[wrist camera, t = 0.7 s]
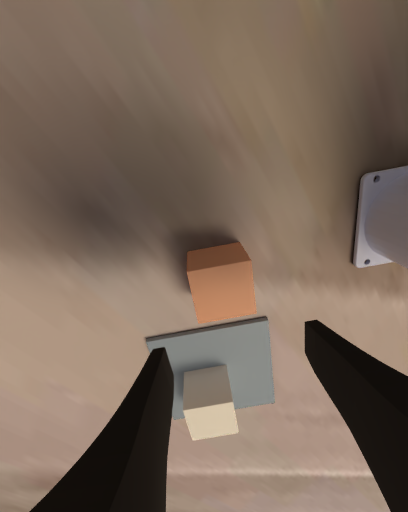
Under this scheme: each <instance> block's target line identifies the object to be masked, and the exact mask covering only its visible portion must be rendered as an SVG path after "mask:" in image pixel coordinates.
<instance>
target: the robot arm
mask: <svg viewBox="0 0 408 512" xmlns="http://www.w3.org/2000/svg"><path fill="white" fill-rule="evenodd" d="M375 176H376V180H375V181H373V179H374V177H375ZM365 260H367V261H366V262H365ZM364 262H365V263H364ZM390 262H395V263H397V264H399V265H401V266H404V267H406V268H408V166H402V167H397V168H392V169H386V170H381V171H376V172H370V173H366V174H365V175H363V176H362V178H361V181H360V192H359V204H358V215H357V226H356V237H355V248H354V259H353V264H354V266H356V267H358V268H362V267H368V266H373V265H379V264H385V263H390ZM305 354H306V356H307V358H308V360H309V362H310V364H311V366H312V368H313V370H314V372H315V374H316V376H317V377H318V379H319V380H320V382H321V384H322V385H323V387H324V389H325V390H326V392H327V393H328V395H329V396H330V398H331V400H332V401H333V403H334V404H335V406H336V408H337V409H338V411H339V412H340V414H341V416H342V417H343V419H344V420H345V422H346V424H347V426H348V427H349V429H350V431H351V433H352V435H353V437H354V438H355V440H356V442H357V444H358V446H359V448H360V450H361V452H362V454H363V456H364V458H365V460H366V462H367V464H368V466H369V468H370V470H371V472H372V474H373V476H374V478H375V480H376V482H377V484H378V486H379V488H380V490H381V492H382V494H383V496H384V498H385V500H386V502H387V505H388V507H389V509H390V511H391V512H408V376H406V375H404V374H402V373H400V372H399V371H397V370H395V369H393V368H391V367H389V366H388V365H386V364H384V363H382V362H381V361H379V360H377V359H376V358H374V357H372V356H370V355H369V354H367V353H366V352H364V351H362V350H361V349H359V348H358V347H356V346H355V345H353V344H352V343H350V342H348V341H347V340H346V339H344V338H343V337H341V336H340V335H338V334H337V333H335V332H334V331H332V330H331V329H329V328H328V327H327V326H325V325H324V324H322V323H321V322H319V321H318V320H313V321H307V322H305ZM173 400H174V374H173V371H172V368H171V364H170V361H169V358H168V355H167V352H166V349H165V347H161V348H156V349H153V350H152V351H151V353H150V355H149V357H148V359H147V361H146V363H145V365H144V366H143V368H142V370H141V372H140V374H139V375H138V377H137V379H136V381H135V382H134V384H133V386H132V387H131V389H130V391H129V392H128V394H127V395H126V397H125V399H124V400H123V402H122V403H121V405H120V406H119V408H118V409H117V411H116V412H115V414H114V415H113V417H112V418H111V419H110V421H109V422H108V424H107V425H106V426H105V428H104V429H103V430H102V432H101V433H100V434H99V435H98V437H97V438H96V439H95V440H94V442H93V443H92V444H91V446H90V447H89V448H88V449H87V450H86V452H85V453H84V454H83V455H82V456H81V458H80V459H79V460H78V461H77V462H76V463H75V464H74V466H73V467H72V468H71V469H70V470H69V471H68V472H67V473H66V474H65V476H64V477H63V478H62V479H61V480H60V481H59V482H58V483H57V484H56V485H55V486H54V487H53V489H52V490H51V491H50V492H49V493H48V494H47V495H46V496H45V497H44V498H43V499H42V500H41V501H40V502H39V503H38V504H37V505H36V506H35V507H34V508H33V509H32V510H31V511H30V512H166V476H167V455H168V445H169V436H170V427H171V418H172V409H173Z"/></svg>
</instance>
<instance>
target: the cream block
mask: <svg viewBox="0 0 408 512" xmlns="http://www.w3.org/2000/svg"><path fill="white" fill-rule="evenodd" d="M183 412H184V416H185V419H186V422H187V425H188V428H189V431H190V434H191V437H192V440H193V441H194V440H200V439H206V438H212V437H217V436H223V435H229V434H235V433H239V431H238V426H237V420H236V415H235V409H234V403H233V398H232V392H231V387H230V382H229V376H228V371H227V365H221V366H216V367H210V368H204V369H199V370H193V371H187V372H184V390H183Z"/></svg>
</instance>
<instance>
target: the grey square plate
mask: <svg viewBox="0 0 408 512" xmlns="http://www.w3.org/2000/svg"><path fill="white" fill-rule="evenodd" d="M146 343H147V346H148V349H149V352H150V353H151V351H152V350H153V349H156V348H161V347H165V349H166V352H167V355H168V358H169V361H170V364H171V368H172V371H173V374H174V400H173V409H172V416H173V419H174V420H176V419H182V418H185V416H184V412H183V390H184V372H187V371H193V370H199V369H204V368H210V367H216V366H221V365H227V371H228V376H229V382H230V387H231V392H232V398H233V403H234V409H240V408H246V407H252V406H258V405H263V404H269V403H275V398H274V385H273V372H272V360H271V347H270V334H269V322H268V319H267V317H265V318H259V319H253V320H248V321H242V322H236V323H231V324H225V325H220V326H214V327H208V328H203V329H197V330H192V331H186V332H180V333H175V334H169V335H164V336H158V337H152V338H147V340H146Z"/></svg>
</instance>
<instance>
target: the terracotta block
mask: <svg viewBox="0 0 408 512" xmlns="http://www.w3.org/2000/svg"><path fill="white" fill-rule="evenodd" d="M187 276H188V280H189V284H190V289H191V293H192V297H193V302H194V306H195V311H196V315H197V319H198V324H200V323H206V322H211V321H217V320H222V319H228V318H234V317H239V316H245V315H250V314H256V303H255V293H254V284H253V274H252V264H251V259H250V258H249V256H248V254H247V253H246V251H245V250H244V248H243V246H242V245H241V243H240V242H237V243H231V244H226V245H220V246H215V247H210V248H204V249H199V250H193V251H188V252H187Z"/></svg>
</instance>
